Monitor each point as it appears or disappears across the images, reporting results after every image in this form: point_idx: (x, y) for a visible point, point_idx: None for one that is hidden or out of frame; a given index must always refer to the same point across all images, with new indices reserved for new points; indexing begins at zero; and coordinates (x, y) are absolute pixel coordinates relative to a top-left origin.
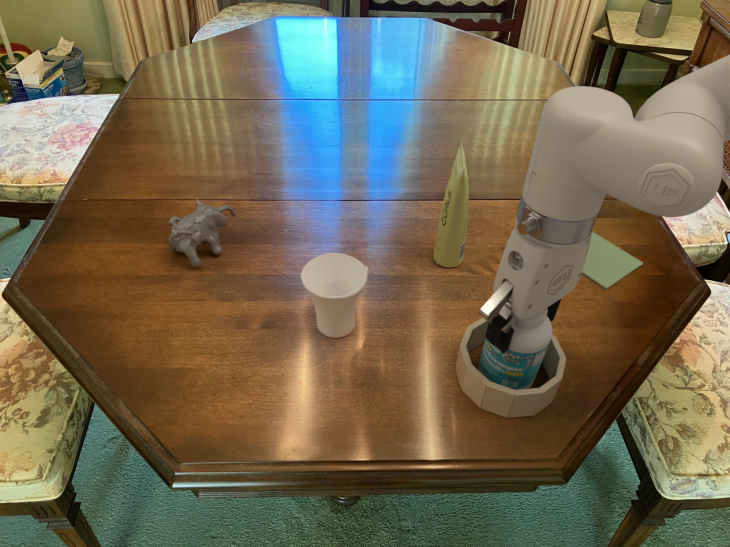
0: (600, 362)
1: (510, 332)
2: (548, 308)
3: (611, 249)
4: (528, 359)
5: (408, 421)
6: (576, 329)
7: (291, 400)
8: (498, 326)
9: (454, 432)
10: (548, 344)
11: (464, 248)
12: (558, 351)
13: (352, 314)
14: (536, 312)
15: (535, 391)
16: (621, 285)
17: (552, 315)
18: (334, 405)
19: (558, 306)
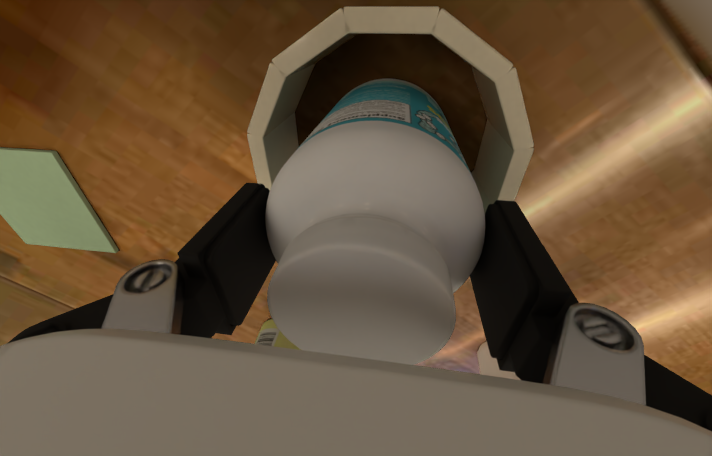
0: (168, 16)
1: (564, 289)
2: (247, 235)
3: (3, 203)
4: (432, 127)
5: (627, 188)
6: (170, 122)
7: (687, 320)
8: (680, 385)
9: (602, 109)
10: (334, 123)
11: (259, 343)
12: (275, 95)
13: (511, 373)
14: (577, 432)
15: (456, 30)
16: (16, 137)
17: (246, 202)
18: (662, 281)
19: (207, 224)
